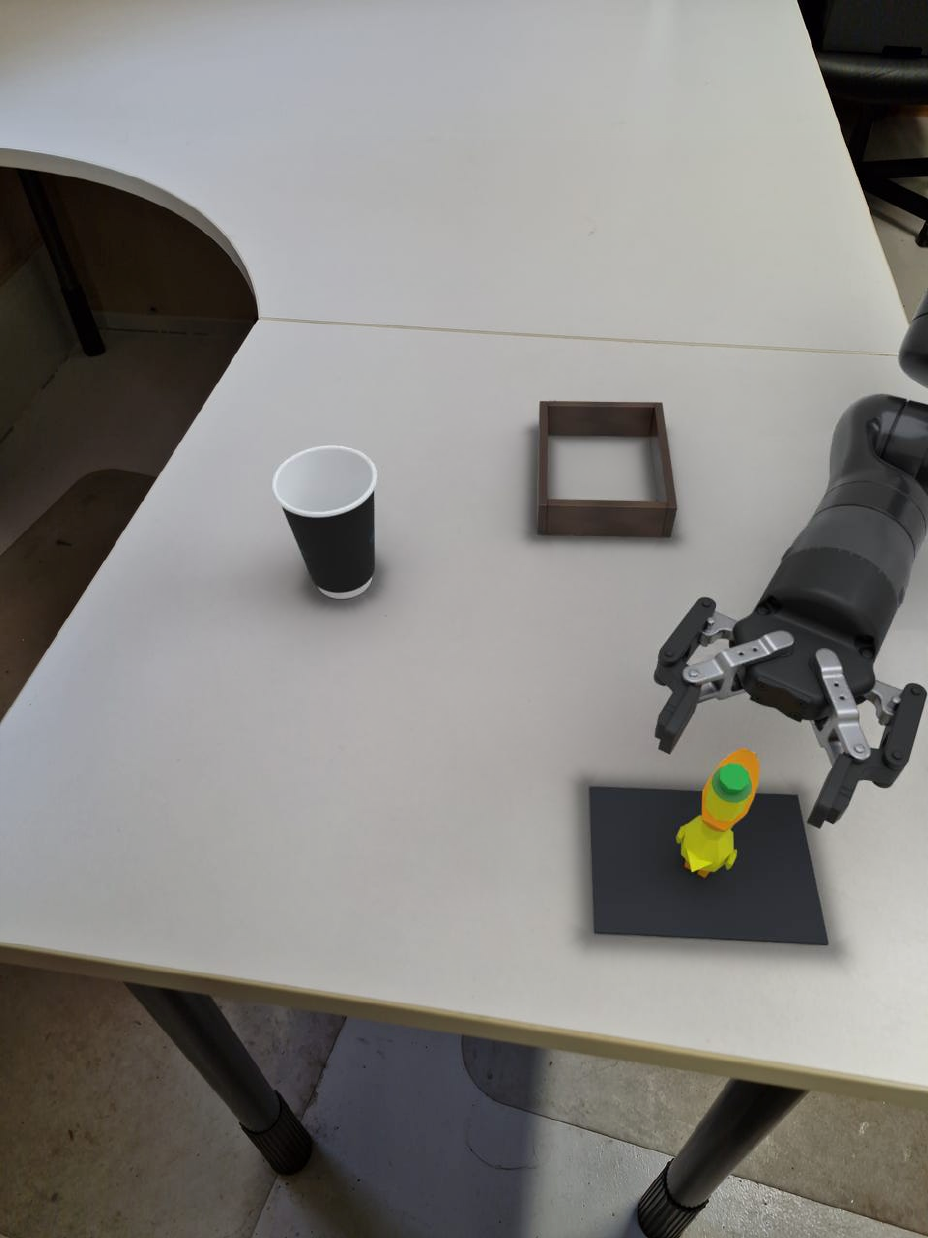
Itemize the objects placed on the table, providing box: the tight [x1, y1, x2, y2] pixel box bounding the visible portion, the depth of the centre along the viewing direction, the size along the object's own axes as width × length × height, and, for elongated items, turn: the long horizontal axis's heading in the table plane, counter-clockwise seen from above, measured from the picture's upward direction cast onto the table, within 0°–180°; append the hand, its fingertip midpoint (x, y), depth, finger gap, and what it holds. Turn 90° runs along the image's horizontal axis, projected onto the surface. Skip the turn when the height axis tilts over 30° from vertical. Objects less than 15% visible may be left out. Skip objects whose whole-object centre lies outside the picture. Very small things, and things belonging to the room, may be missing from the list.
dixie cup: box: [270, 444, 378, 600], centre depth 68 cm, size 8×8×11 cm
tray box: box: [536, 400, 678, 538], centre depth 78 cm, size 12×15×4 cm
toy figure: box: [676, 747, 761, 878], centre depth 51 cm, size 7×4×12 cm, turn 147°
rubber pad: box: [588, 785, 829, 946], centre depth 55 cm, size 14×10×1 cm
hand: (738, 780), depth 46 cm, fingers open, 8 cm apart
